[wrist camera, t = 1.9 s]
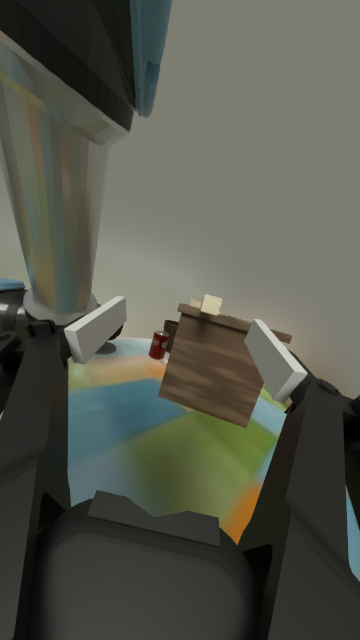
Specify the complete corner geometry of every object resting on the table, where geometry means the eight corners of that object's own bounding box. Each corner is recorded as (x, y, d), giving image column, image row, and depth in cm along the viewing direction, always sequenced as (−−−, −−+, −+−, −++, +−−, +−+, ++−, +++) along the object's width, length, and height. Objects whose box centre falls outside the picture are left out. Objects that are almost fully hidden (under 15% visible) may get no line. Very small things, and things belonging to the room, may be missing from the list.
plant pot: (166, 343, 90) (172, 319, 88) (186, 352, 84) (194, 327, 82) (152, 348, 76) (159, 320, 74) (175, 359, 70) (184, 329, 68)
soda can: (163, 355, 71) (169, 332, 70) (163, 361, 64) (170, 337, 63) (149, 352, 70) (155, 329, 69) (147, 358, 63) (154, 333, 61)
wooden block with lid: (165, 374, 55) (185, 303, 51) (237, 398, 52) (264, 325, 48) (152, 399, 40) (179, 302, 36) (252, 436, 37) (293, 334, 33)
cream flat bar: (190, 305, 50) (192, 297, 49) (218, 313, 49) (220, 305, 48) (181, 305, 25) (185, 288, 25) (237, 321, 24) (243, 304, 24)
